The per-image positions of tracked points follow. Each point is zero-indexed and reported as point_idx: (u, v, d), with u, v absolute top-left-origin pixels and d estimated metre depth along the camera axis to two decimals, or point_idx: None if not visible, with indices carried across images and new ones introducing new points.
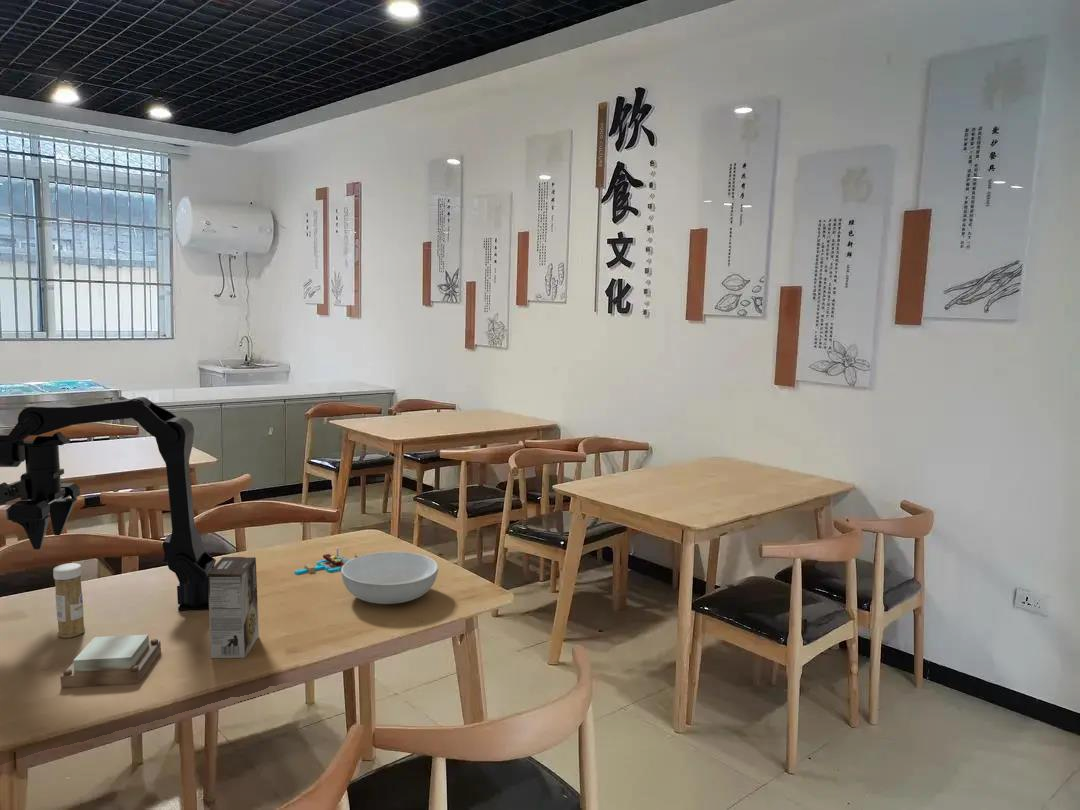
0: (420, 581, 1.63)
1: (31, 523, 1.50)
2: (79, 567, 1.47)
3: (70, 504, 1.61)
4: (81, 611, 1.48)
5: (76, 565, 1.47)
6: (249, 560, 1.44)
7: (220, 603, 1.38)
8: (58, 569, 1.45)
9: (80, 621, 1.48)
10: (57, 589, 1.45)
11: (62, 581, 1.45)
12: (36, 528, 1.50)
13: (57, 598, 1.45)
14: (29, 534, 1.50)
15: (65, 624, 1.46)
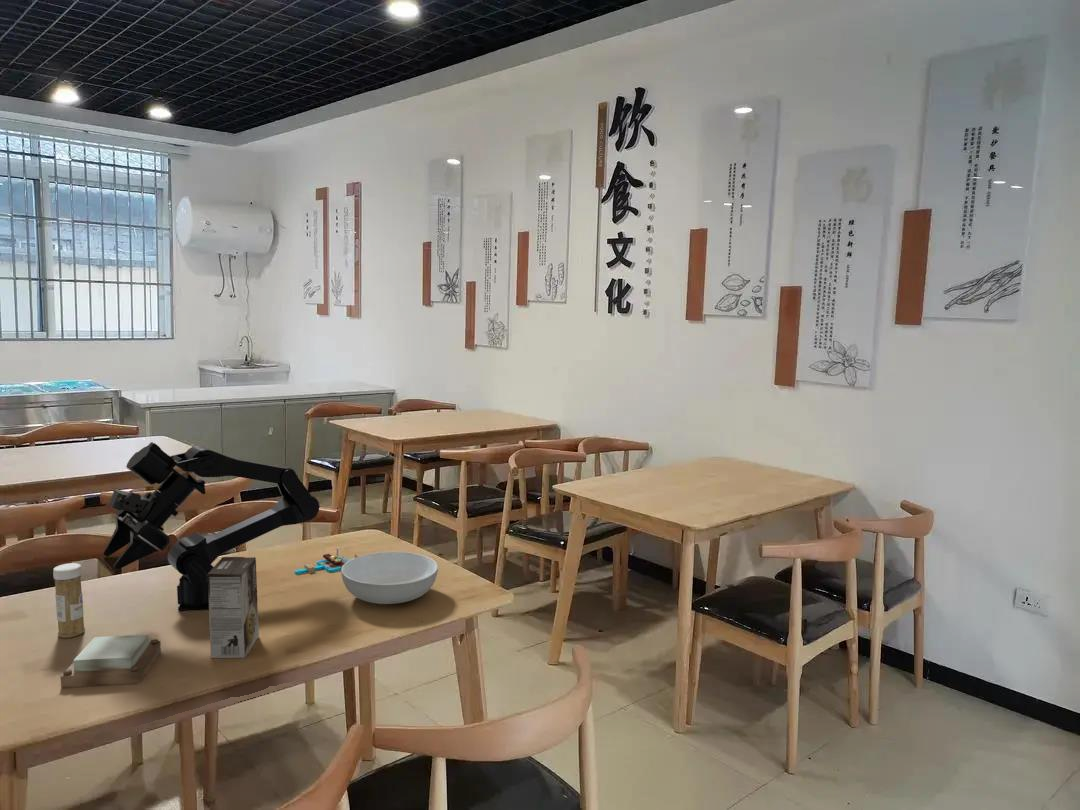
0: (420, 581, 1.63)
1: (137, 545, 1.49)
2: (79, 567, 1.47)
3: None
4: (81, 611, 1.48)
5: (76, 565, 1.47)
6: (249, 560, 1.44)
7: (219, 603, 1.38)
8: (58, 569, 1.45)
9: (80, 621, 1.48)
10: (57, 589, 1.45)
11: (62, 581, 1.45)
12: (137, 551, 1.49)
13: (57, 598, 1.45)
14: (127, 553, 1.48)
15: (65, 624, 1.46)
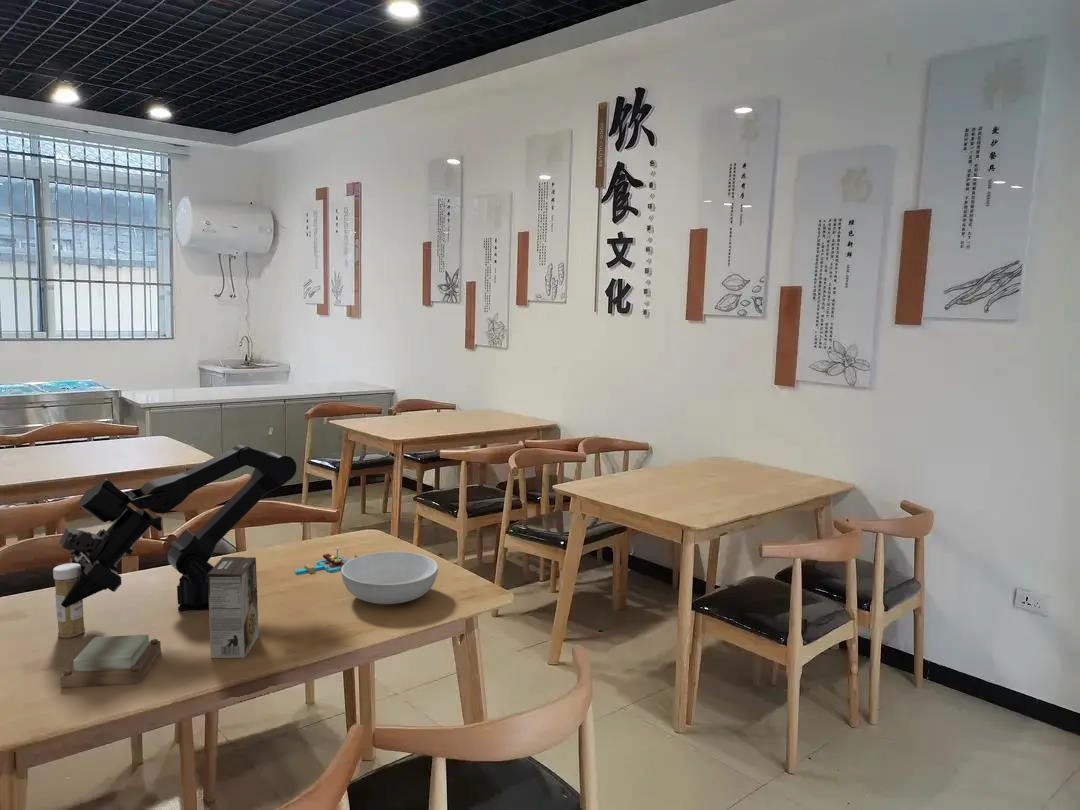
0: (420, 581, 1.63)
1: (86, 582, 1.46)
2: (79, 567, 1.47)
3: None
4: (81, 611, 1.48)
5: (76, 565, 1.47)
6: (249, 560, 1.44)
7: (220, 603, 1.38)
8: (58, 569, 1.45)
9: (80, 621, 1.48)
10: (57, 589, 1.45)
11: (62, 581, 1.45)
12: (85, 589, 1.46)
13: (57, 598, 1.45)
14: (75, 591, 1.45)
15: (65, 624, 1.46)
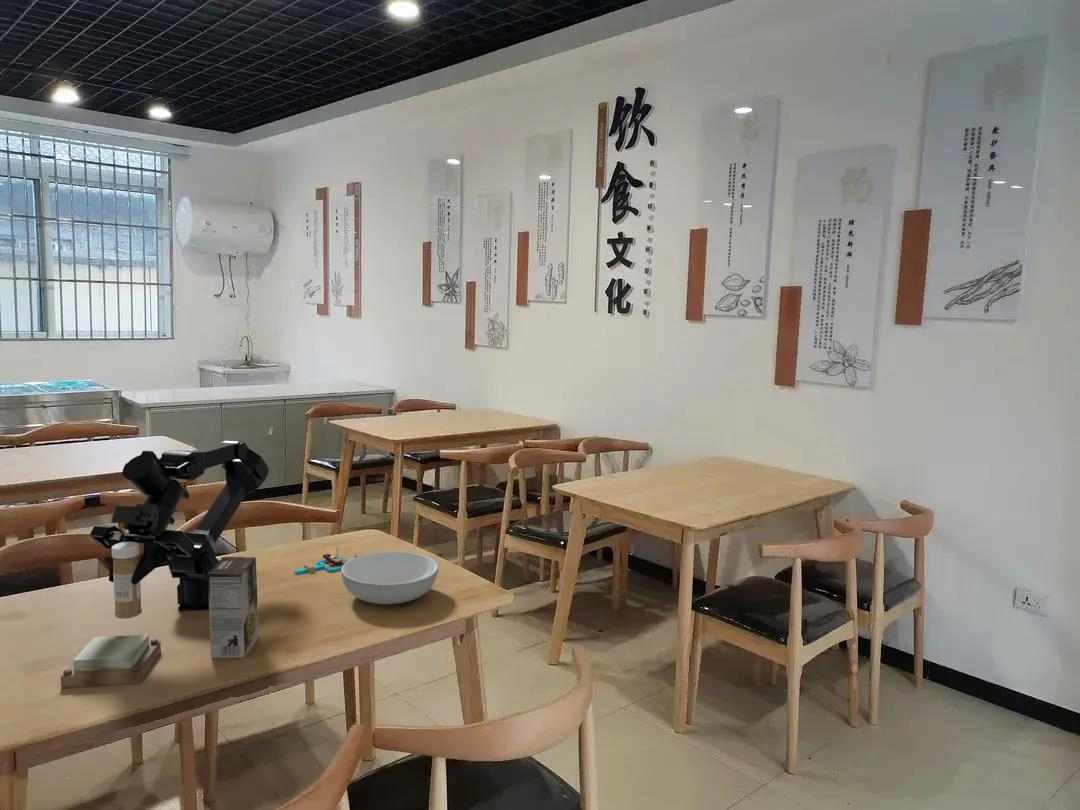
0: (420, 581, 1.63)
1: (151, 555, 1.43)
2: None
3: None
4: None
5: (132, 542, 1.42)
6: (249, 560, 1.44)
7: (220, 603, 1.38)
8: (124, 548, 1.39)
9: (140, 598, 1.44)
10: (122, 569, 1.40)
11: (130, 559, 1.40)
12: (151, 562, 1.43)
13: (122, 578, 1.40)
14: (145, 565, 1.41)
15: (132, 603, 1.41)
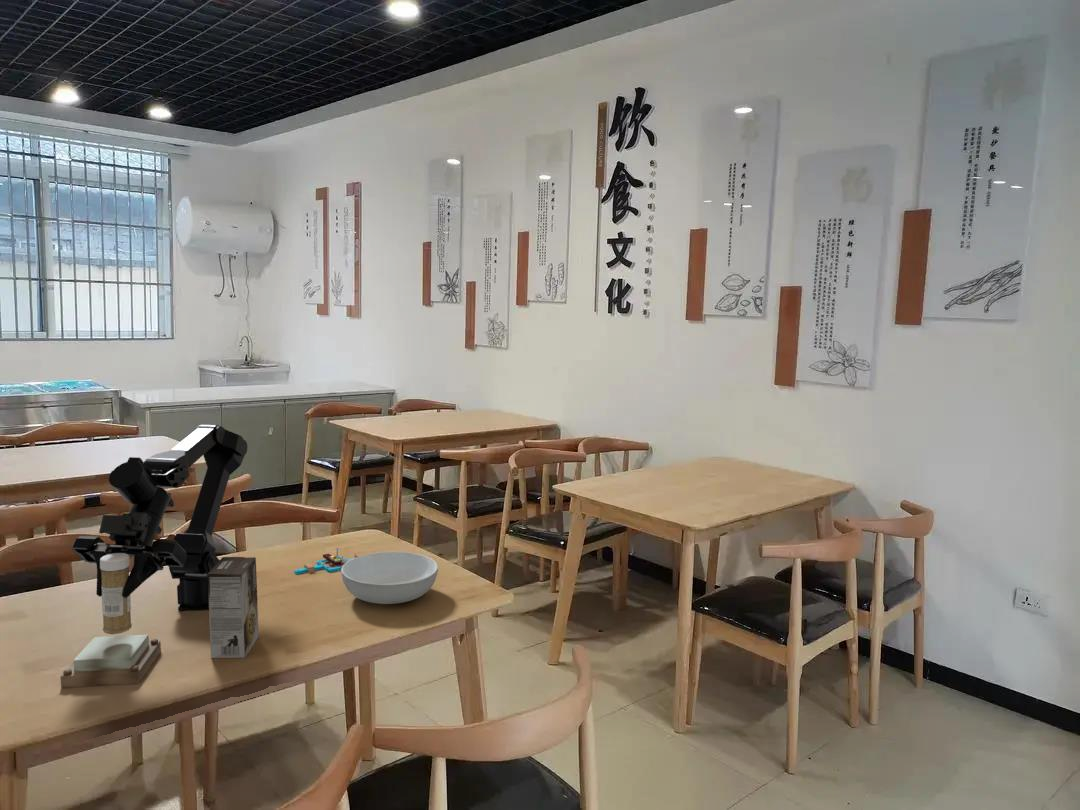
0: (420, 581, 1.63)
1: (141, 567, 1.37)
2: None
3: None
4: None
5: (122, 553, 1.36)
6: (249, 560, 1.44)
7: (220, 603, 1.38)
8: (114, 559, 1.33)
9: (130, 612, 1.37)
10: (113, 581, 1.33)
11: (120, 571, 1.33)
12: (142, 574, 1.37)
13: (113, 591, 1.33)
14: (136, 577, 1.35)
15: (123, 618, 1.34)
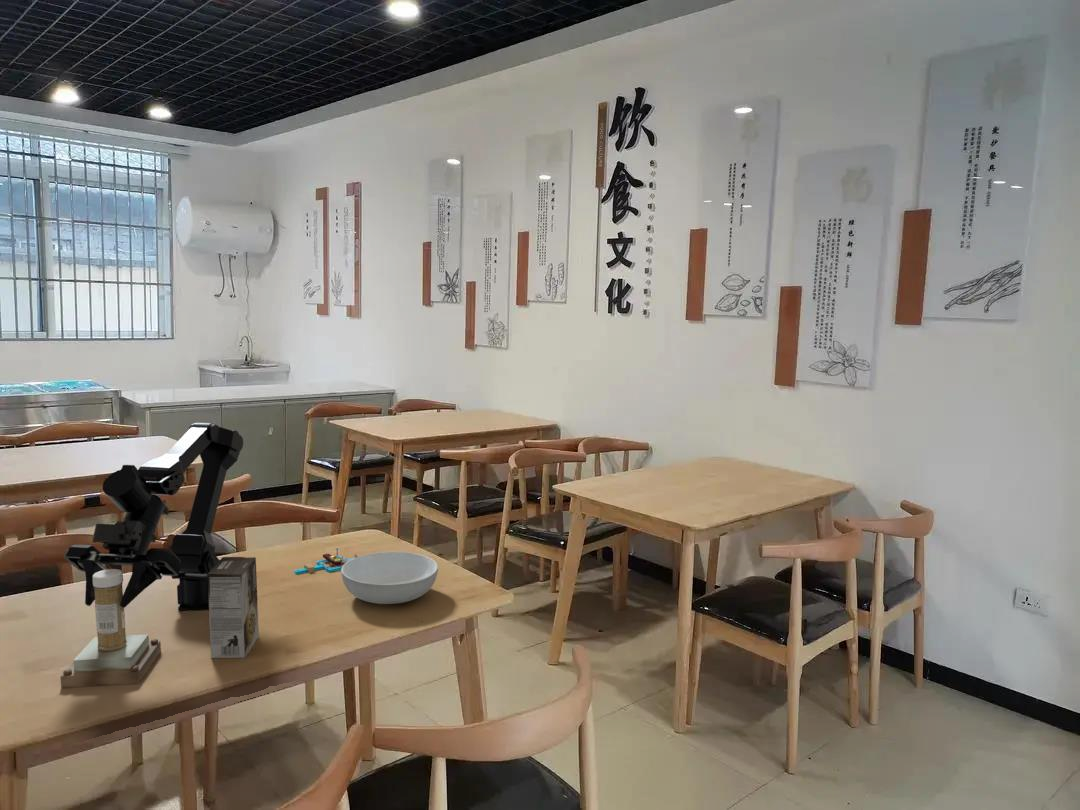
0: (420, 581, 1.63)
1: None
2: None
3: None
4: None
5: (114, 569, 1.34)
6: (249, 560, 1.44)
7: (220, 603, 1.38)
8: (107, 576, 1.31)
9: None
10: (106, 598, 1.31)
11: (114, 588, 1.32)
12: (140, 583, 1.35)
13: (107, 608, 1.31)
14: (134, 586, 1.33)
15: (117, 634, 1.33)
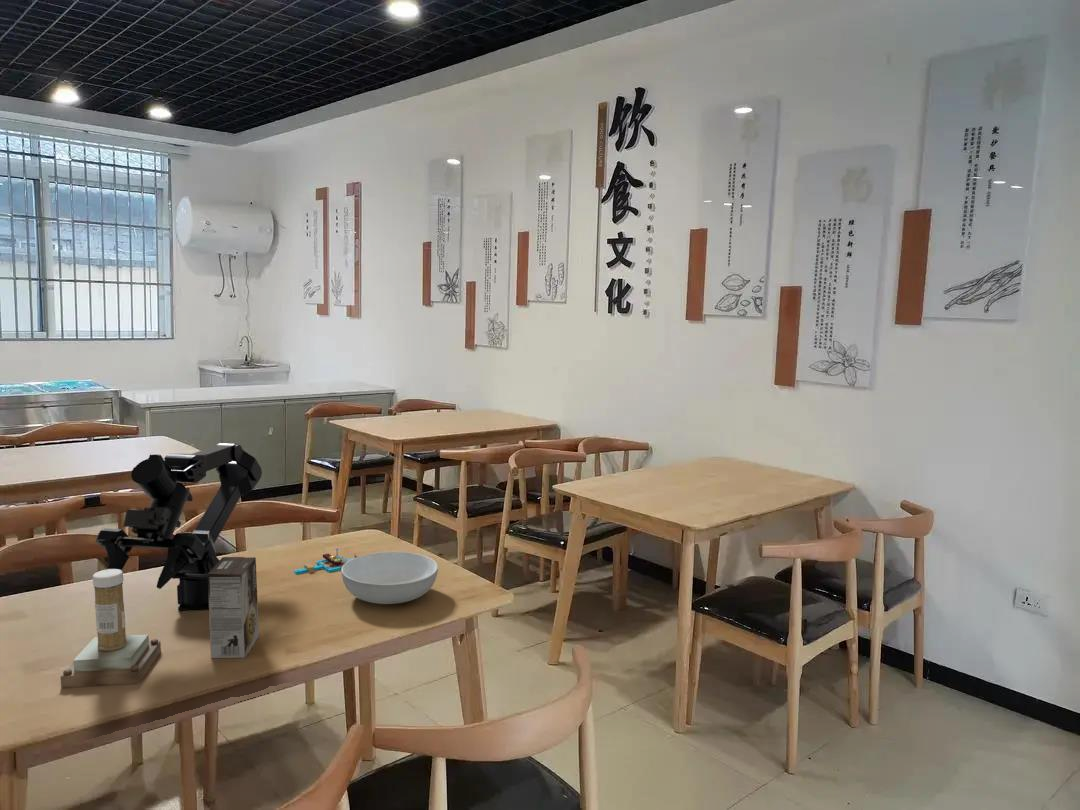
0: (420, 581, 1.63)
1: (174, 559, 1.44)
2: None
3: (127, 558, 1.47)
4: None
5: (115, 569, 1.34)
6: (249, 560, 1.44)
7: (219, 603, 1.38)
8: (107, 576, 1.31)
9: None
10: (107, 598, 1.31)
11: (114, 588, 1.32)
12: (175, 566, 1.44)
13: (107, 608, 1.31)
14: (169, 569, 1.42)
15: (117, 634, 1.33)
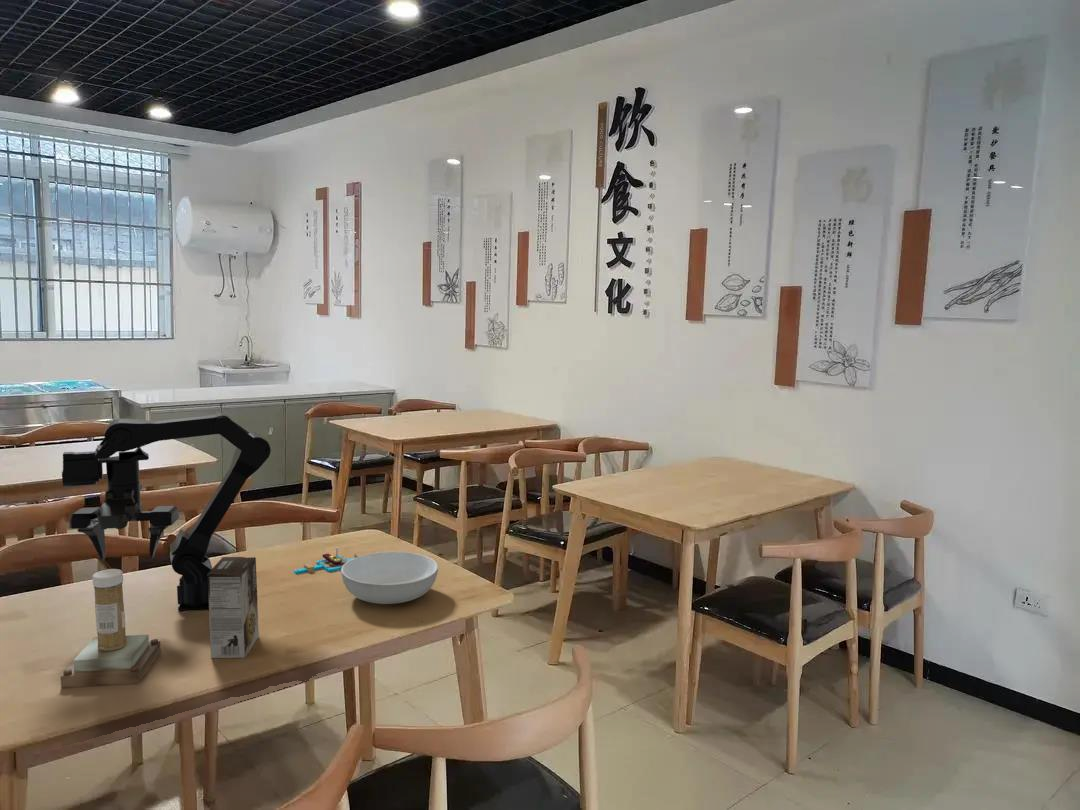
0: (420, 581, 1.63)
1: None
2: None
3: None
4: None
5: (114, 569, 1.34)
6: (249, 560, 1.44)
7: (219, 603, 1.38)
8: (107, 576, 1.31)
9: None
10: (106, 598, 1.31)
11: (114, 588, 1.32)
12: (158, 534, 1.57)
13: (107, 608, 1.31)
14: (156, 542, 1.56)
15: (117, 634, 1.33)
